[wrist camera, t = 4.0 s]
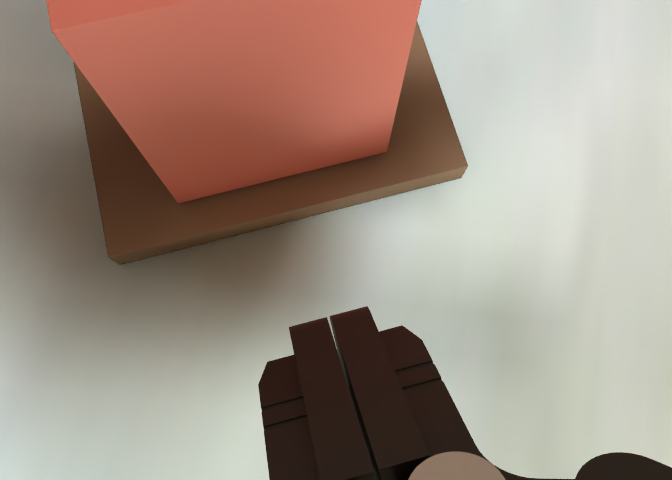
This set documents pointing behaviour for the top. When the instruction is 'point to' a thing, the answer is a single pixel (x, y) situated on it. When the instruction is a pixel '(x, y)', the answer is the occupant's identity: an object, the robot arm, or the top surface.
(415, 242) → the top surface
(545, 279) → the top surface
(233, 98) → the red block
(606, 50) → the top surface
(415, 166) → the brown piece
